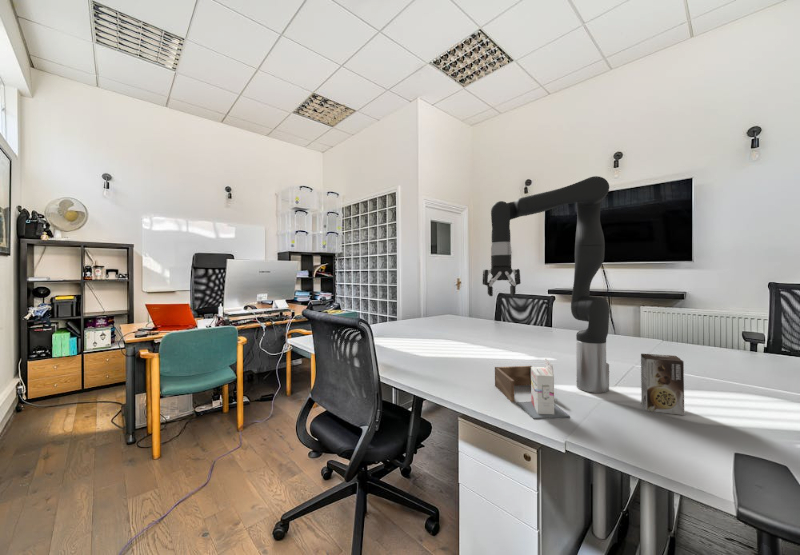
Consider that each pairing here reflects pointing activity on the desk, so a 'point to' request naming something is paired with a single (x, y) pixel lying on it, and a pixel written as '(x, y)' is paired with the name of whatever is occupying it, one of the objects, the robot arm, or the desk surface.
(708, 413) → the desk surface
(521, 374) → the open front box
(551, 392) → the ink cartridge box
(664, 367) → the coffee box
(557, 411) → the mat
